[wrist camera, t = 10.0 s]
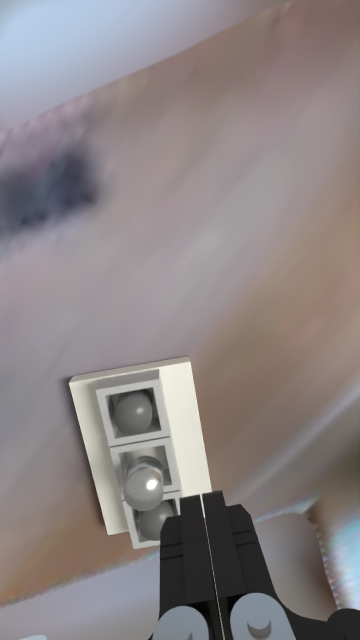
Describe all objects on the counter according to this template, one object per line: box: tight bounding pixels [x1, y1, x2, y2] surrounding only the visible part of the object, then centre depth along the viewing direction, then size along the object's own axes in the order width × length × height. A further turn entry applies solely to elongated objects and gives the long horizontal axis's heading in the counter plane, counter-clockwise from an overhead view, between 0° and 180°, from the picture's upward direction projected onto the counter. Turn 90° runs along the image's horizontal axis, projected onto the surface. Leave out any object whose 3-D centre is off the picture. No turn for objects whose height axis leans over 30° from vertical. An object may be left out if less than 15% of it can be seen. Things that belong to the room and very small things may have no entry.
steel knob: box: [124, 456, 164, 511], centre depth 36 cm, size 4×4×4 cm
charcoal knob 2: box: [139, 499, 174, 541], centre depth 41 cm, size 4×4×4 cm
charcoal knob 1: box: [114, 389, 153, 434], centre depth 38 cm, size 4×4×4 cm
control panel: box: [69, 356, 212, 549], centre depth 41 cm, size 14×21×5 cm, turn 9°
